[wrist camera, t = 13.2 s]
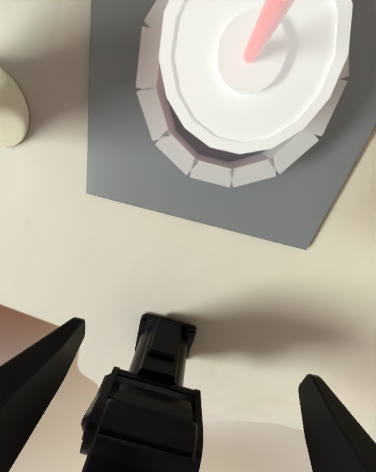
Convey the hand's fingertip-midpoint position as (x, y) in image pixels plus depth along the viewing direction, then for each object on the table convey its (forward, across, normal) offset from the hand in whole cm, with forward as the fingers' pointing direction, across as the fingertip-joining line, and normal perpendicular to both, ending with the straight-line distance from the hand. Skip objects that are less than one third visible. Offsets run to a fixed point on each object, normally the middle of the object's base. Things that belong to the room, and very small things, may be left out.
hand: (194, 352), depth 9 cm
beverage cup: (+13, +1, -10) cm, 16 cm away
